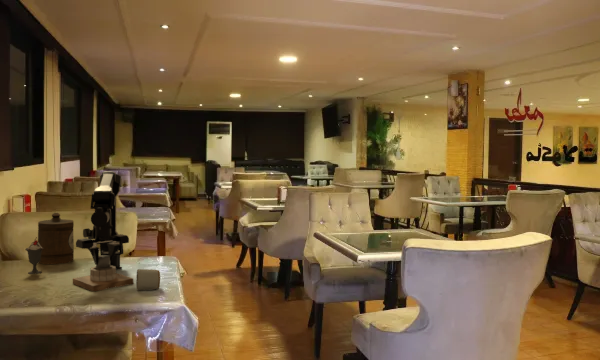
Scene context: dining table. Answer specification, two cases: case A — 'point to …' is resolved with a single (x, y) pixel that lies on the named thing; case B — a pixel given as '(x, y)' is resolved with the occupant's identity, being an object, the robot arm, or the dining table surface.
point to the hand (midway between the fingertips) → (103, 263)
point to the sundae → (34, 255)
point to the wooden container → (56, 240)
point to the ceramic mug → (147, 279)
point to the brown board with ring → (102, 279)
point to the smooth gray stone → (103, 261)
